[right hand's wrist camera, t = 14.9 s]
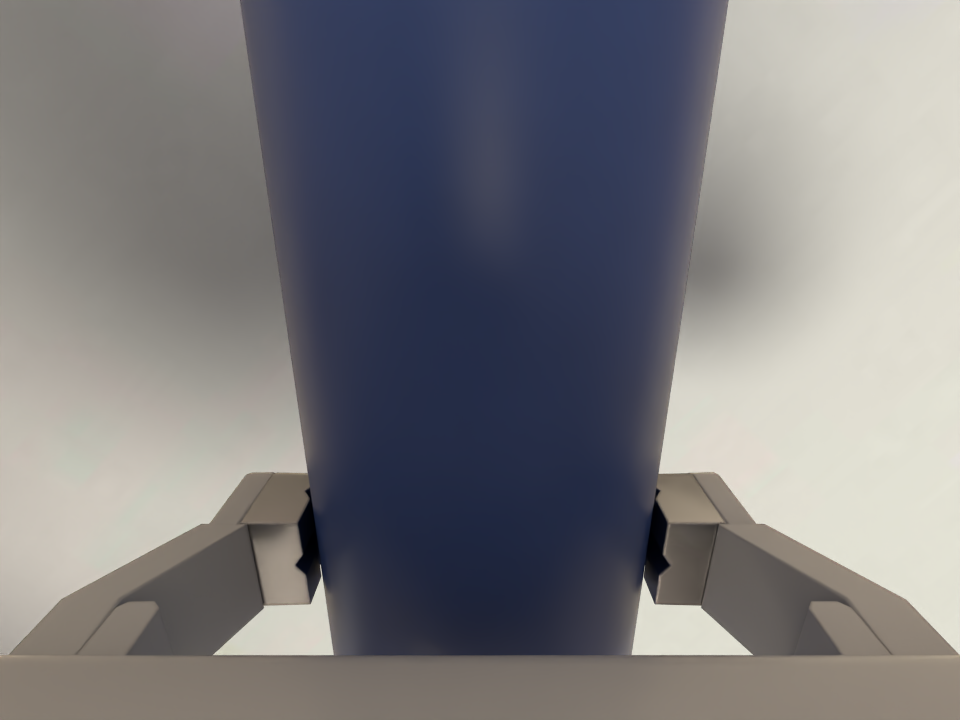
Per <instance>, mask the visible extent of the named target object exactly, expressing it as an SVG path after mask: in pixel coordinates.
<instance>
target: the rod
mask: <svg viewBox="0 0 960 720" xmlns="http://www.w3.org/2000/svg"><path fill="white" fill-rule="evenodd" d="M728 1H729V0H240V3H241V10H242V17H243V24H244V31H245V38H246V45H247V52H248V59H249V66H250V73H251V80H252V87H253V94H254V101H255V108H256V115H257V122H258V129H259V136H260V143H261V150H262V157H263V164H264V171H265V178H266V185H267V192H268V199H269V206H270V213H271V220H272V226H273V233H274V240H275V247H276V254H277V261H278V268H279V275H280V282H281V289H282V296H283V303H284V310H285V317H286V324H287V331H288V338H289V345H290V352H291V359H292V366H293V373H294V380H295V387H296V394H297V401H298V408H299V415H300V422H301V429H302V436H303V443H304V450H305V457H306V464H307V471H308V478H309V485H310V492H311V499H312V506H313V513H314V520H315V527H316V534H317V541H318V548H319V554H320V561H321V568H322V575H323V582H324V589H325V596H326V603H327V610H328V617H329V624H330V631H331V638H332V645H333V652H334V655H632V648H633V641H634V634H635V628H636V621H637V614H638V607H639V601H640V594H641V587H642V580H643V574H644V567H645V560H646V553H647V547H648V540H649V533H650V526H651V520H652V513H653V506H654V499H655V493H656V486H657V479H658V473H659V466H660V459H661V452H662V446H663V439H664V432H665V425H666V419H667V412H668V405H669V398H670V392H671V385H672V378H673V371H674V365H675V358H676V351H677V344H678V338H679V331H680V324H681V317H682V311H683V304H684V297H685V290H686V284H687V277H688V270H689V264H690V257H691V250H692V243H693V237H694V230H695V223H696V216H697V210H698V203H699V196H700V189H701V183H702V176H703V169H704V162H705V156H706V149H707V142H708V135H709V129H710V122H711V115H712V108H713V102H714V95H715V88H716V82H717V75H718V68H719V61H720V55H721V48H722V41H723V34H724V28H725V21H726V14H727V7H728Z"/></svg>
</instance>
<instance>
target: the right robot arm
mask: <svg viewBox="0 0 960 720" xmlns="http://www.w3.org/2000/svg"><path fill="white" fill-rule="evenodd" d="M320 564H321V561H320V554H319V548H318V541H317V534H316V527H315V520H314V513H313V506H312V499H311V492H310V485H309V478H308V473H274V472H254V473H249V474H247V475H246V476H245V477H244V478H243V479H242V481H241V482H240V483H239V485H238V486H237V487H236V489H235V490H234V492H233V493H232V494H231V496H230V497H229V498H228V500H227V501H226V502H225V504H224V505H223V506H222V508H221V509H220V510H219V512H218V513H217V514H216V516H215V517H214V518H213V520H212V521H211V522H210V524H200V525H199V526H197V527H195V528H193V529H191V530H189V531H187V532H185V533H184V534H182V535H180V536H178V537H176V538H174V539H172V540H171V541H169V542H167V543H165V544H163V545H161V546H159V547H158V548H156V549H154V550H152V551H150V552H148V553H146V554H145V555H143V556H141V557H139V558H137V559H135V560H133V561H132V562H130V563H128V564H126V565H124V566H122V567H120V568H119V569H117V570H115V571H113V572H111V573H109V574H107V575H106V576H104V577H102V578H100V579H98V580H96V581H94V582H93V583H91V584H89V585H87V586H85V587H83V588H81V589H80V590H78V591H76V592H74V593H72V594H70V595H68V596H66V597H65V598H63V599H61V600H60V601H59V603H58V604H57V605H56V606H55V607H54V608H53V609H52V610H51V611H50V612H49V613H48V614H47V615H46V616H45V617H44V618H43V619H42V620H41V621H40V622H39V624H38V625H37V626H36V627H35V628H34V629H33V630H32V631H31V632H30V633H29V634H28V635H27V636H26V637H25V638H24V639H23V640H22V641H21V642H20V643H19V644H18V646H17V647H16V648H15V649H14V650H13V651H12V652H11V653H10V654H9V655H0V720H960V655H959V654H958V653H957V652H956V651H955V650H954V649H953V648H952V647H951V646H950V645H949V644H948V643H947V642H946V640H945V639H944V638H943V637H942V636H941V635H940V634H939V633H938V632H937V631H936V630H935V629H934V628H933V627H932V626H931V625H930V624H929V623H928V622H927V621H926V620H925V619H924V618H923V617H922V616H921V615H920V614H919V612H918V611H917V610H916V609H915V608H914V607H913V606H912V605H911V604H910V603H909V602H908V601H907V600H906V599H904V598H902V597H900V596H898V595H896V594H894V593H893V592H891V591H889V590H887V589H885V588H883V587H881V586H880V585H878V584H876V583H874V582H872V581H870V580H868V579H866V578H865V577H863V576H861V575H859V574H857V573H855V572H853V571H851V570H850V569H848V568H846V567H844V566H842V565H840V564H838V563H836V562H835V561H833V560H831V559H829V558H827V557H825V556H823V555H821V554H820V553H818V552H816V551H814V550H812V549H810V548H808V547H807V546H805V545H803V544H801V543H799V542H797V541H795V540H793V539H792V538H790V537H788V536H786V535H784V534H782V533H780V532H778V531H777V530H775V529H773V528H771V527H769V526H767V525H765V524H756V523H755V521H754V520H753V519H752V518H751V516H750V515H749V514H748V512H747V511H746V510H745V508H744V507H743V506H742V505H741V503H740V502H739V501H738V499H737V498H736V497H735V495H734V494H733V493H732V491H731V490H730V489H729V488H728V486H727V485H726V484H725V482H724V481H723V480H722V478H721V477H720V476H719V475H718V474H716V473H714V472H701V473H680V474H658V479H657V486H656V493H655V499H654V506H653V513H652V520H651V526H650V533H649V540H648V547H647V553H646V560H645V571H644V578H645V581H646V583H647V586H648V588H649V591H650V593H651V596H652V598H653V601H654V603H655V604H665V605H701V606H702V607H701V608H702V609H703V610H704V611H706V612H707V613H708V614H709V615H710V616H711V617H712V618H713V619H714V620H715V621H717V622H718V623H719V624H720V625H721V626H722V627H723V628H724V629H725V630H726V631H728V632H729V633H730V634H731V635H732V636H733V637H734V638H735V639H736V640H737V641H739V642H740V643H741V644H742V645H743V646H744V647H745V648H746V649H747V650H748V651H750V652H751V653H752V654H753V655H213V654H214V653H215V652H216V651H217V650H219V649H220V648H221V647H222V646H223V645H224V644H225V643H226V642H227V641H228V640H229V639H231V638H232V637H233V636H234V635H235V634H236V633H237V632H238V631H239V630H240V629H242V628H243V627H244V626H245V625H246V624H247V623H248V622H249V621H250V620H251V619H252V618H254V617H255V616H256V615H257V614H258V613H259V612H260V611H261V610H262V609H263V608H264V605H299V604H311V602H312V599H313V596H314V594H315V591H316V589H317V586H318V583H319V581H320V578H321V571H320Z"/></svg>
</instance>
